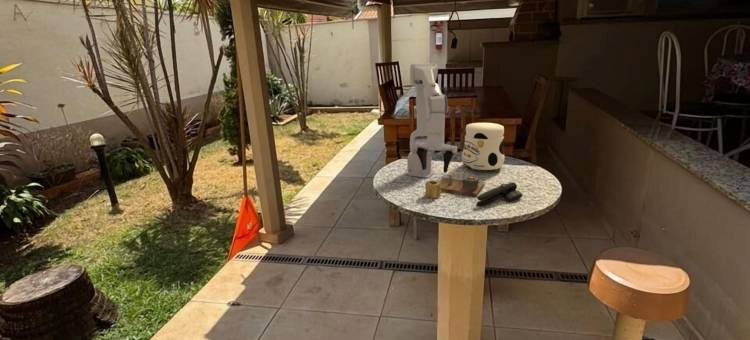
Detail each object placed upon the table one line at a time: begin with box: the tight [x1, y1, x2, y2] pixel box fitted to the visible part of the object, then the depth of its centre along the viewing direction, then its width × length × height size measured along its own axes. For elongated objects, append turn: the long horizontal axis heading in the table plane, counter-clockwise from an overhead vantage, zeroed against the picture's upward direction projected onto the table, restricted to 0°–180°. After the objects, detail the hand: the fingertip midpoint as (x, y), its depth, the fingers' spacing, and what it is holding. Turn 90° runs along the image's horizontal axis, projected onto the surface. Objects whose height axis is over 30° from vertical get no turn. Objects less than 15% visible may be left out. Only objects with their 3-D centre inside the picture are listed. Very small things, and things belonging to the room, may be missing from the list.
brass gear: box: [425, 179, 442, 199], centre depth 136 cm, size 5×5×5 cm
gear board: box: [439, 173, 485, 198], centre depth 142 cm, size 16×11×5 cm
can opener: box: [476, 182, 524, 207], centre depth 130 cm, size 18×7×6 cm, turn 115°
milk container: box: [461, 122, 505, 172], centre depth 162 cm, size 17×17×18 cm
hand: (434, 170), depth 134 cm, fingers open, 7 cm apart
